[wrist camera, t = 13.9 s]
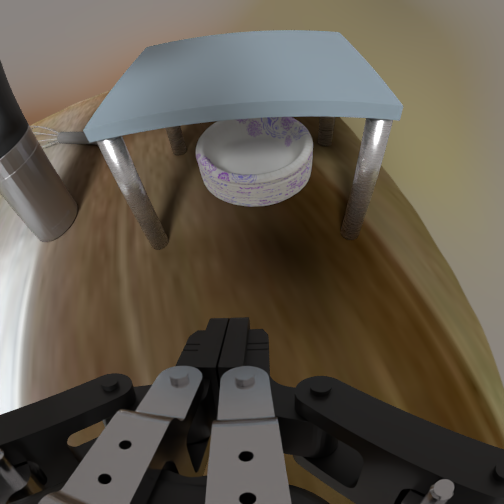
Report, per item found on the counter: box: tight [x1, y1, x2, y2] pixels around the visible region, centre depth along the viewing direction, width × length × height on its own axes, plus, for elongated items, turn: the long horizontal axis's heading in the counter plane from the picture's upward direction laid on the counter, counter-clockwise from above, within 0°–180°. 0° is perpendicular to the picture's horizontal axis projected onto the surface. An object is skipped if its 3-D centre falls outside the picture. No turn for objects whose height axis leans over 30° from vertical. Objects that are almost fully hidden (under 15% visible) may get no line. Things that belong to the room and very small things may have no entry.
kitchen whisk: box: [30, 126, 98, 148], centre depth 54 cm, size 6×34×6 cm, turn 75°
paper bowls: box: [196, 117, 313, 207], centre depth 40 cm, size 15×15×8 cm
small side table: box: [83, 30, 403, 250], centre depth 35 cm, size 22×27×20 cm
